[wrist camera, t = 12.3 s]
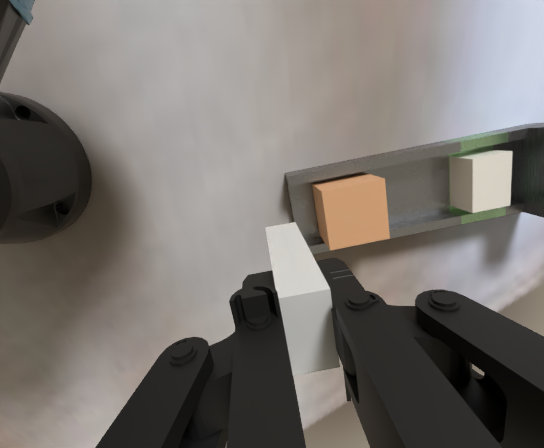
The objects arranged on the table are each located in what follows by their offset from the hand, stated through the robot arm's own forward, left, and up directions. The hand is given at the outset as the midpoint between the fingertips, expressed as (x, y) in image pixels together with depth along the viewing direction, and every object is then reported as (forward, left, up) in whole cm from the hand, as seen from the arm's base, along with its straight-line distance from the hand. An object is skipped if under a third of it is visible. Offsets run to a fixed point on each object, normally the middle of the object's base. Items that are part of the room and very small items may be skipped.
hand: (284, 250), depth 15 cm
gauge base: (+16, -3, -20) cm, 26 cm away
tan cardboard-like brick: (+8, -3, -18) cm, 20 cm away
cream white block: (+22, -3, -18) cm, 29 cm away
